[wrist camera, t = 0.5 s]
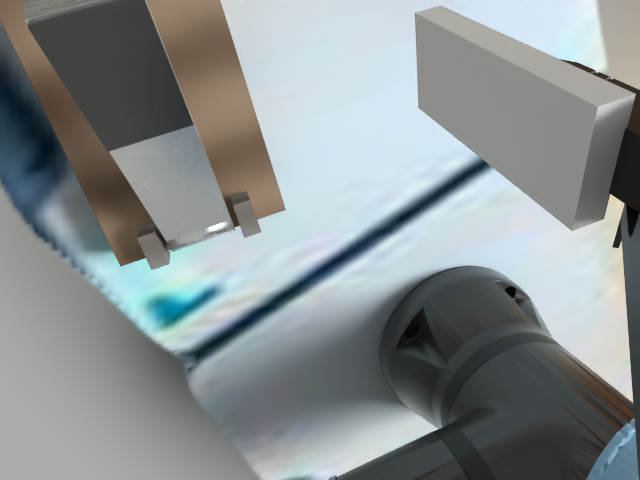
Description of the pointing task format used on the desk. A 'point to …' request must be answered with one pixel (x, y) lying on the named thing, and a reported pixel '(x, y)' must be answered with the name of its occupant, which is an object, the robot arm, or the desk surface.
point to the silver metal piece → (134, 109)
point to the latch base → (206, 110)
